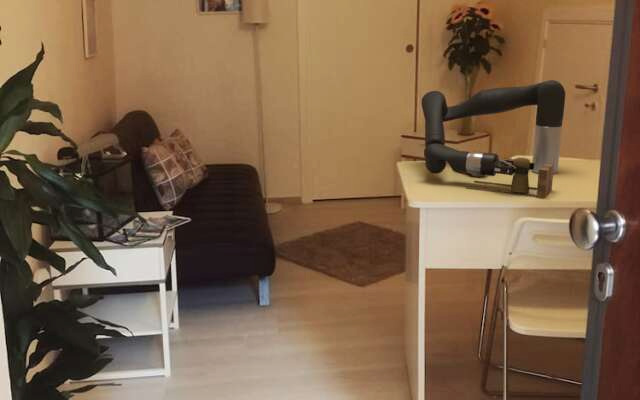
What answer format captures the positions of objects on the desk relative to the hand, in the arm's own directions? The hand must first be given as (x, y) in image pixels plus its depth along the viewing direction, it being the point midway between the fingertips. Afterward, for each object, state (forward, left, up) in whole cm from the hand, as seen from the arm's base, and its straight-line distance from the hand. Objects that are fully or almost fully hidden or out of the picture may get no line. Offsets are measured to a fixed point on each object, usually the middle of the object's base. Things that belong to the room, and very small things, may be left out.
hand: (531, 168), depth 231 cm
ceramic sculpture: (-18, -24, -8) cm, 31 cm away
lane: (0, -8, -8) cm, 11 cm away
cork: (+3, -3, -7) cm, 8 cm away
